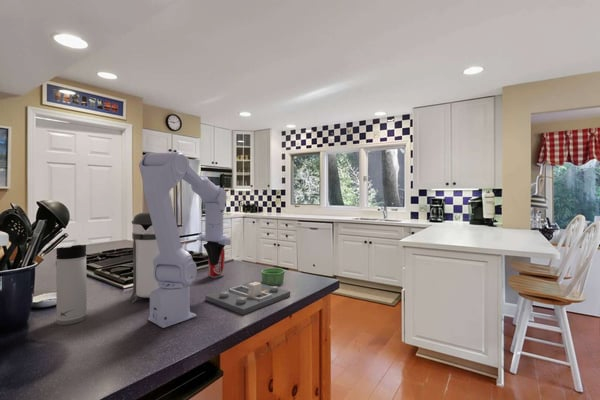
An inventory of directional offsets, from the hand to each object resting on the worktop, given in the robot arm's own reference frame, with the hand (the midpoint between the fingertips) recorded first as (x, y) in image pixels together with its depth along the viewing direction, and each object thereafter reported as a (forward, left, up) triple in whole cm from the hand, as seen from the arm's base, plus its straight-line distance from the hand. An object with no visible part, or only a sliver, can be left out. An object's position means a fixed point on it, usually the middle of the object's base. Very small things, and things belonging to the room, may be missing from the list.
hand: (214, 264), depth 100 cm
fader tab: (+5, -14, -8) cm, 17 cm away
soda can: (+14, +18, -10) cm, 25 cm away
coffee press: (-13, +14, -10) cm, 22 cm away
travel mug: (-36, +11, -10) cm, 39 cm away
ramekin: (+23, -5, -10) cm, 26 cm away
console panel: (+5, -12, -10) cm, 16 cm away
